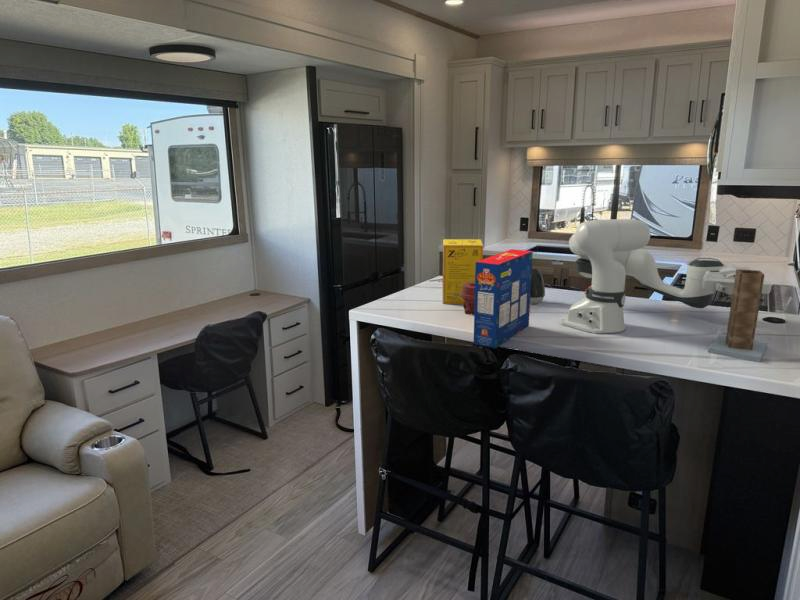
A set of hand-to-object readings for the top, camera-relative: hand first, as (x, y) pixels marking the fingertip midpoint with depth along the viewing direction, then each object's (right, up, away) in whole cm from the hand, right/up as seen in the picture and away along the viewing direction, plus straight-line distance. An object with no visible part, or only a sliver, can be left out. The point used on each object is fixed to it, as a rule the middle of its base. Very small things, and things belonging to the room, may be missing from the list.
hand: (739, 290), depth 183 cm
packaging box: (-85, -3, +58) cm, 104 cm away
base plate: (-4, -19, -6) cm, 21 cm away
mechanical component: (-83, -8, +38) cm, 92 cm away
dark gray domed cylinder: (-56, -4, +52) cm, 76 cm away
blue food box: (-76, -16, +11) cm, 79 cm away
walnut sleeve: (-4, -18, -6) cm, 19 cm away
